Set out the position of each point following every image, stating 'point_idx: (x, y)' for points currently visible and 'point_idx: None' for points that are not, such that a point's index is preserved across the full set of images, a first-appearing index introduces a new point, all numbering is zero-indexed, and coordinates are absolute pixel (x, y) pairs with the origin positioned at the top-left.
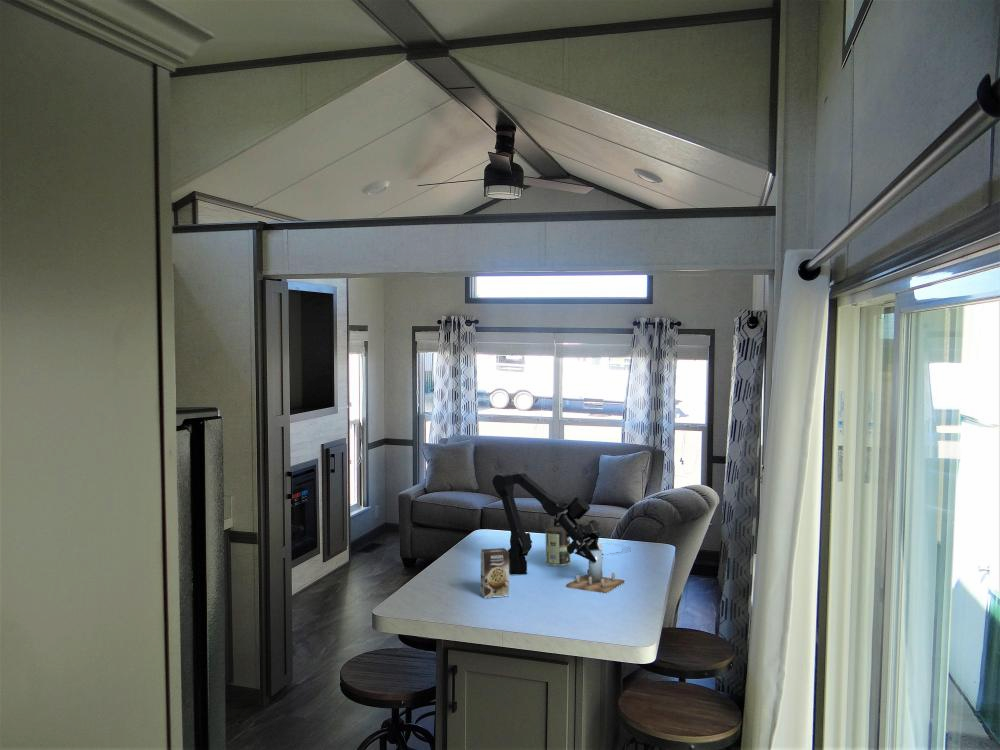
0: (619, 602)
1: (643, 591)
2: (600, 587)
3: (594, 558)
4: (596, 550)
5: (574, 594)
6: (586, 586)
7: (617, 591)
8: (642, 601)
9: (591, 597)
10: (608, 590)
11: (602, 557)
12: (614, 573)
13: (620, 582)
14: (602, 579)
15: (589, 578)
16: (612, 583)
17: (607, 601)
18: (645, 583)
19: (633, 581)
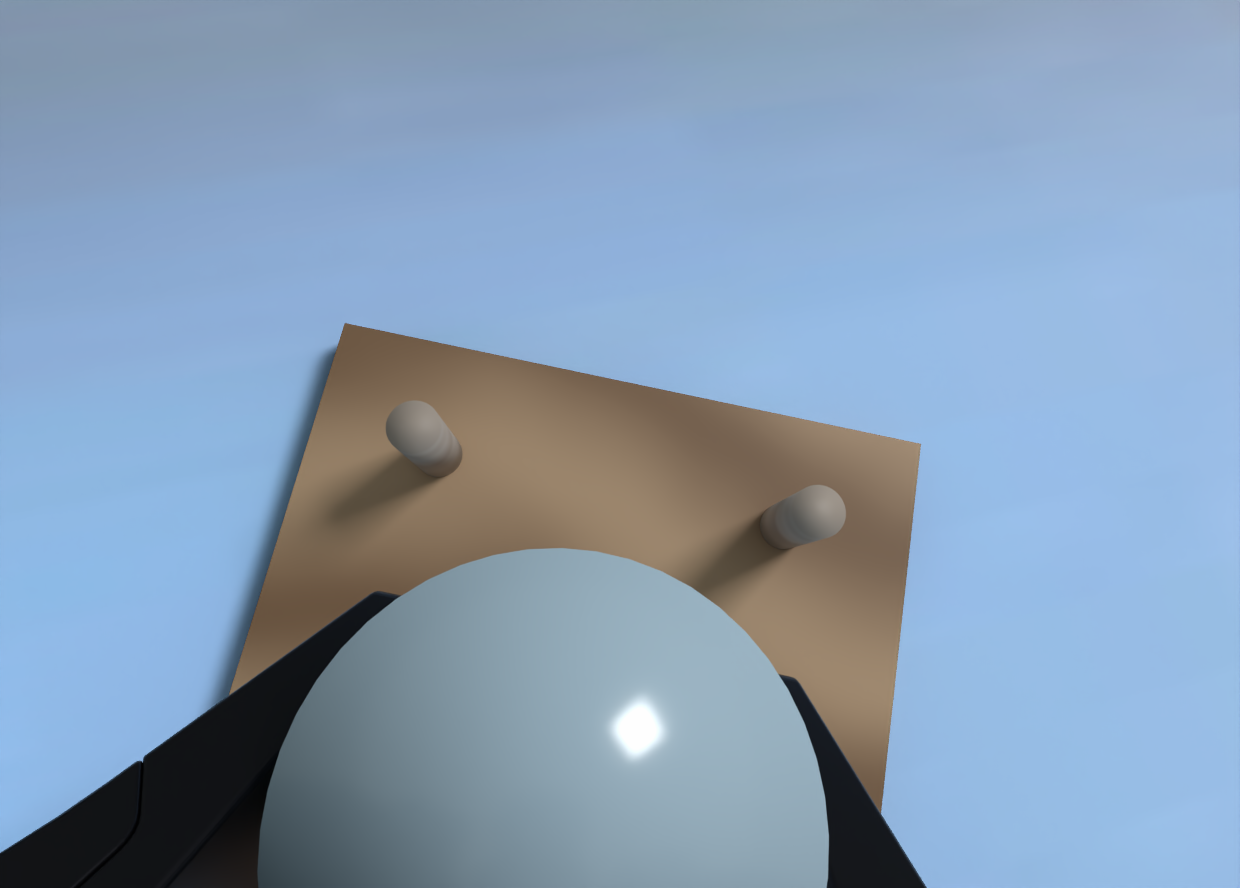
0: (1170, 245)
1: (661, 83)
2: (815, 550)
3: (823, 734)
4: (502, 795)
5: (1127, 846)
6: None
7: (769, 345)
8: (1025, 46)
9: (1144, 586)
10: (851, 434)
11: (383, 595)
12: (425, 404)
13: (477, 351)
14: (841, 509)
15: None
16: (562, 440)
17: (1200, 371)
18: (315, 107)
19: (255, 247)
